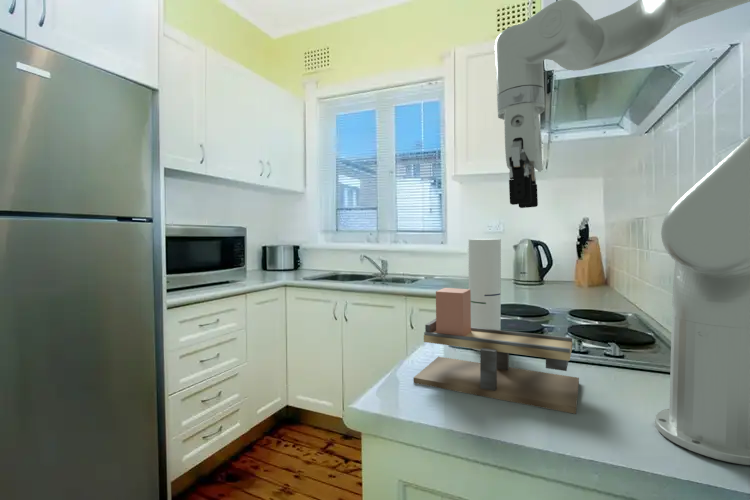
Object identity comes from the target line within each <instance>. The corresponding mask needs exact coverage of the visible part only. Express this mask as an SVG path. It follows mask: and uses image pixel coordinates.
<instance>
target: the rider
mask: <svg viewBox="0 0 750 500" xmlns="http://www.w3.org/2000/svg"><path fill="white" fill-rule="evenodd" d="M435 319H436V333H441V334H450V335H459V336H466V335H467V334H468V333H470V332H471V289H469V288H457V287H456V288H455V287H454V288H453V287H443V288H441V289H438V290H436V291H435Z"/></svg>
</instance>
